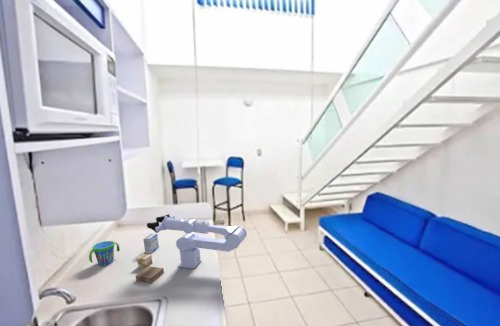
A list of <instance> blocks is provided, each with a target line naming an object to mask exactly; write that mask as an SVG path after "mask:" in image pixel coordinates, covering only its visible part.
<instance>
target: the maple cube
mask: <svg viewBox="0 0 500 326" xmlns="http://www.w3.org/2000/svg"><path fill="white" fill-rule="evenodd" d="M152 256H153V255H152V254H150V253H142V254H141V255H140V256H138V257H136V259H137V260H136V261H137V267H138V268H141V269H145V268H146V267H148V266H150V267H151V266H152V265H153V257H152Z"/></svg>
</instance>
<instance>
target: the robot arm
mask: <svg viewBox="0 0 500 326" xmlns="http://www.w3.org/2000/svg"><path fill="white" fill-rule="evenodd" d="M155 221H156V222H155ZM155 221H154V222H147V223H146V228H147V229H150V230H152V231H153V232H155V234H158V233H160V232H161V231H166V230H171V231H178V232H179V231H180V232H181V231H182V232H184V233H185V234H184V235H182V236H181V237H180V238H178V239H177V240H176V242H175V244H176V245H175V246H176V248H177V249H178V250H179V255H180V256H179V258H180V263H178V265H177V267H178V268H185V269H195V268H196V267H197V266H198V265H199V264H201V262H202V260H201V252H200V249H203V250H204V249H205V250H212V251H218V252H219V251H220V252H232V251H233V250H236V249H238V247H239V246H240V245H241V243H242V242H243V241H244V240H245V239H246V237H247V234H248V233H247V231H246V229H245V228H244V227H243V226H236V225H229V226H228V225H217V224H216V225H215V224H211V223H210V222H208V221H206V220H197V219H195V218H193V217H191V218H189V219H186V218H185V219H183V218H176V217H175V216H173V215H171V216H170V214H168V213H167V214H166V215H162V216H157V217H155ZM208 233H212V234H217V235H221V236H223V237H224V239H223V238H214V237H205V236H199V234H204V235H207V234H208Z"/></svg>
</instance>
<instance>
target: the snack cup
mask: <svg viewBox="0 0 500 326" xmlns="http://www.w3.org/2000/svg"><path fill="white" fill-rule="evenodd" d="M115 245H116V251H117V252H120V245H119V244H118V243H117V242H116V241H113V240H106V241H101V242H97V243H96V244H94V245H93V246H92V249H91V250H90V251H89V255H88V260H89V262H90V263H93V256H92V255H93V254H94V255H95V259H96V262H97V264H98V265H99V266H107V265H110V264H111V263H113V262H114V259H115V258H114V257H115Z"/></svg>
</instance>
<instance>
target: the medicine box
mask: <svg viewBox="0 0 500 326" xmlns="http://www.w3.org/2000/svg"><path fill="white" fill-rule="evenodd" d="M143 245H144V254H153V253H154V252H155V251H156V250H157V249H158V248H159V247H160V245H159V239H158V233H149V234H148V235H147V236H146V237H145V238H143Z"/></svg>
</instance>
